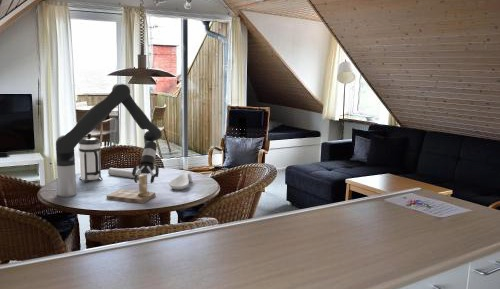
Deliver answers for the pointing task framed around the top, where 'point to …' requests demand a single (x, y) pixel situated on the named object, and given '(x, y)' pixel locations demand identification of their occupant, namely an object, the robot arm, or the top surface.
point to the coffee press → (90, 158)
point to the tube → (121, 172)
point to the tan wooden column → (143, 185)
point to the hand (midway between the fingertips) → (143, 182)
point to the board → (129, 196)
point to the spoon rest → (181, 181)
